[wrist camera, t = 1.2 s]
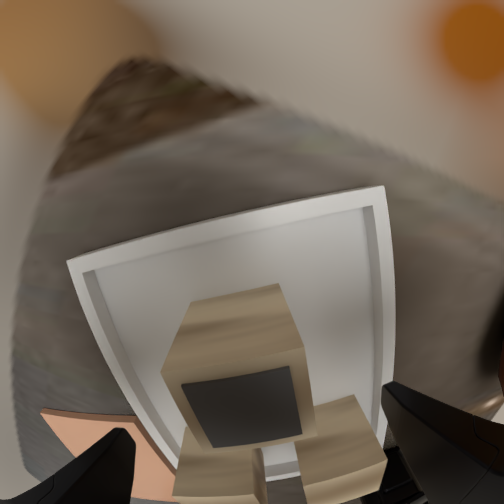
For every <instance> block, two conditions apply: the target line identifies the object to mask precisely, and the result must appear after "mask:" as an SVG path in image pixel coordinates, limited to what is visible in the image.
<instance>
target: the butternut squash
mask: <svg viewBox="0 0 504 504" xmlns="http://www.w3.org/2000/svg"><path fill="white" fill-rule="evenodd" d="M498 377H499V380H500V384H501V387H502V391H503V396H504V338H503V345H502V351H501V356H500V364H499V372H498Z"/></svg>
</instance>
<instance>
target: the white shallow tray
mask: <svg viewBox="0 0 504 504" xmlns="http://www.w3.org/2000/svg"><path fill="white" fill-rule="evenodd" d="M67 265H68V268H69V271H70V274H71V277H72V280H73V283H74V286H75V289H76V292H77V295H78V297H79V300H80V303H81V305H82V308H83V311H84V313H85V316H86V318H87V321H88V323H89V325H90V328H91V330H92V332H93V335H94V337H95V339H96V341H97V343H98V346H99V348H100V350H101V352H102V354H103V356H104V358H105V360H106V362H107V364H108V366H109V368H110V370H111V372H112V374H113V376H114V377H115V379H116V381H117V383H118V385H119V387H120V388H121V390H122V392H123V394H124V395H125V397H126V399H127V400H128V402H129V404H130V405H131V407H132V409H133V410H134V412H135V413H136V415H137V416H138V418H139V420H140V421H141V423H142V424H143V426H144V427H145V429H146V430H147V431H148V433H149V434H150V436H151V437H152V439H153V440H154V441H155V443H156V444H157V446H158V447H159V448H160V450H161V451H162V452H163V454H164V455H165V456H166V457H167V459H168V460H169V461H170V462H171V464H172V465H173V466H174V467H175V469H176V470H177V466H178V461H179V456H180V451H181V446H182V441H183V436H184V431H185V427H188V425H187V423H186V422H185V420H184V418H183V416H182V414H181V413H180V411H179V409H178V407H177V405H176V403H175V401H174V400H173V398H172V396H171V394H170V392H169V390H168V388H167V386H166V384H165V382H164V380H163V378H162V375H161V373H160V371H161V369H162V366H163V364H164V362H165V359H166V357H167V355H168V352H169V350H170V348H171V345H172V343H173V341H174V338H175V336H176V334H177V332H178V329H179V327H180V325H181V323H182V320H183V318H184V316H185V314H186V311H187V309H188V307H189V305H190V303H191V302H193V301H198V300H203V299H208V298H213V297H218V296H222V295H227V294H232V293H236V292H241V291H246V290H250V289H255V288H259V287H263V286H268V285H272V284H276V283H279V285H280V288H281V290H282V292H283V295H284V297H285V300H286V302H287V305H288V307H289V310H290V312H291V315H292V317H293V319H294V322H295V324H296V327H297V329H298V332H299V334H300V337H301V339H302V342H303V344H304V347H305V353H306V359H307V366H308V372H309V379H310V385H311V392H312V399H313V406H316V405H320V404H324V403H327V402H331V401H334V400H337V399H341V398H344V397H347V396H350V395H353V394H354V395H355V397H356V399H357V401H358V403H359V405H360V407H361V408H362V410H363V412H364V414H365V416H366V418H367V420H368V422H369V424H370V426H371V428H372V430H373V431H374V433H375V435H376V437H377V439H378V441H379V443H380V445H381V447H382V449H383V444H384V439H385V434H386V428H387V422H388V421H387V419H386V416H385V414H384V411H383V409H382V407H381V389H382V385H384V384H386V383H388V382H391V381H393V370H394V354H395V318H396V314H395V278H394V262H393V250H392V239H391V230H390V222H389V214H388V207H387V201H386V194H385V189H384V186H365V187H360V188H354V189H349V190H343V191H338V192H332V193H327V194H322V195H317V196H312V197H307V198H302V199H297V200H292V201H287V202H282V203H278V204H273V205H268V206H264V207H259V208H255V209H250V210H246V211H242V212H237V213H233V214H229V215H224V216H220V217H216V218H212V219H208V220H204V221H200V222H196V223H192V224H188V225H184V226H180V227H176V228H172V229H168V230H165V231H161V232H157V233H153V234H150V235H146V236H142V237H139V238H135V239H132V240H128V241H124V242H121V243H118V244H114V245H111V246H107V247H104V248H100V249H97V250H94V251H90V252H87V253H84V254H81V255H79V256H77V257H75V258H72V259H70V260H68V261H67ZM261 450H262V452H263V456H264V467H265V478H266V481H273V480H279V479H285V478H290V477H295V476H300V475H301V474H300V469H299V464H298V459H297V455H296V450H295V445H294V441H293V442H289V443H284V444H279V445H273V446H268V447H262V448H261Z"/></svg>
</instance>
